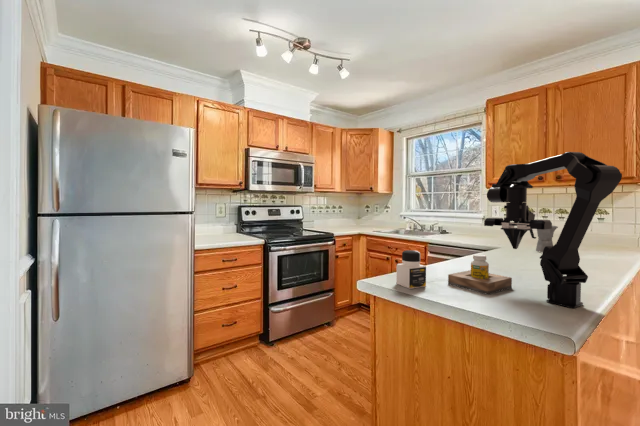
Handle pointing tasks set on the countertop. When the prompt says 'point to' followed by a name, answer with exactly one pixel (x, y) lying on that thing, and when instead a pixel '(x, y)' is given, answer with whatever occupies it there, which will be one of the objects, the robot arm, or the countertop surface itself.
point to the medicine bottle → (411, 270)
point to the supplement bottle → (479, 267)
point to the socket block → (480, 282)
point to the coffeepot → (543, 237)
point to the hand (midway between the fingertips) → (515, 248)
